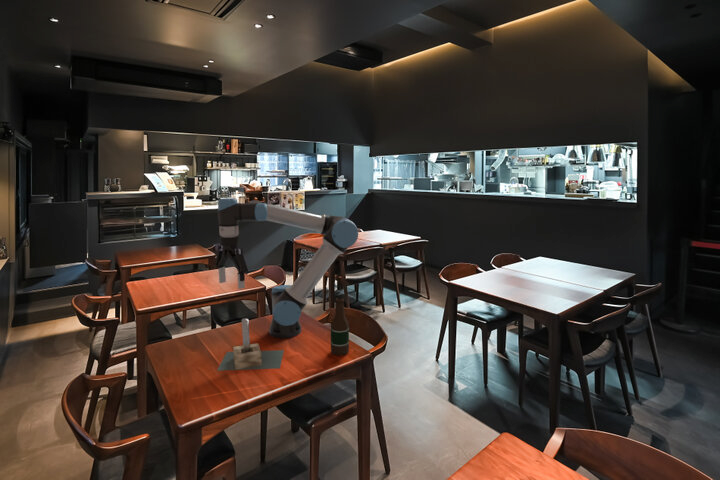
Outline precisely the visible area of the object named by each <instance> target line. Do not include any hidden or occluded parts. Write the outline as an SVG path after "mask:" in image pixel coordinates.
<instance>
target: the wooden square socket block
mask: <svg viewBox="0 0 720 480" xmlns="http://www.w3.org/2000/svg"><path fill="white" fill-rule="evenodd" d="M232 348H233V349H232V352H233V353H234V363H235V370H234V371H237V370H236V369H242V368H248V367H254V366H260V365H262V359H261V351H262V350H261V348H260V345H259V343H250V352H247V353H244V351H243V345H237V346H233V347H232Z"/></svg>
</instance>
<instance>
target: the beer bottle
mask: <svg viewBox="0 0 720 480" xmlns="http://www.w3.org/2000/svg"><path fill="white" fill-rule="evenodd" d="M344 302H345V300H344V298H343V297H337V298H335V312H334V313H335V314H334V317H333V318H332V320H331V322H330V352H331V353H332V355H333V356H337V355H338V357H341V356H340V355H342V356H347V354H348V353H349V352H350V351H349V350H350V326H349V325H350V323H349V322H348V319H347V318H346V315H345V303H344Z"/></svg>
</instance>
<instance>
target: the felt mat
mask: <svg viewBox="0 0 720 480" xmlns="http://www.w3.org/2000/svg"><path fill="white" fill-rule="evenodd" d="M260 351H261V359H262V365H260V366H254V367H248V368H242V369H236V370H235V363H234V353H233V351H226V353H225V355H224V357H223V358H222V360H221V362H220V364H219V366H218V368H217V370H216V371H217V372H219V371H223V372H224V371H242V370H243V371H247V370H249V371H250V370H269V369H270V370H272V369H273V370H274V369H275V370H277V369H281V367H282V366H281V364H282V360H283V357H284V352H285V350H284V349H281V350H278V349H277V350H275V349H274V350H260Z"/></svg>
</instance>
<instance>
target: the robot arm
mask: <svg viewBox="0 0 720 480" xmlns="http://www.w3.org/2000/svg"><path fill="white" fill-rule="evenodd" d="M217 215H218V217H217V218H218V227H219V230H218V232H219V236H220V237H219V244H220V245H218V246H217V253H216V257H215V262H214V266H215V267H217V268H218V269H217V270H218V283H219V284H223V283H226V282H227V280H226V279H227V278H226V276H227V275H226V267H225V266H226V265H225V264H226V263H227V261H228V259H230V261H232V262H233V264H234V266H235V268H236V270H237V289H238V290H241V289H245V288H246V285H245V279H246V278H245V276H246V275H245V274H246V273H247V272H249V268H248V266H247V262H246V260H245V257H244V253H243V248H237V247H238V246H239V244H240V236H239V233H240V231H239V222H265V221H266V222H267V221H268V222H271V223H272V222H273V223H277V224H282V225H286V226H290V227H296V228H298V229H299V228H300V229H305V230H307V231H308V230H309V231H314V232H317V233H318V235H322V236H323V237H322V239H321V240H322V244H321V245H320V247H319V248H318V249H317V251H316V252H315V253H314V255H313V256H312V257H311V259H310V260H309V262H307V264H306V265H305V266H304V268H303V270H302V271H301V272H300V273H299V275H298V277H296V279H295V281H294V282H293V283H292V285H291V284H282V285H276V286H273V287H272V288H271V304H272V305H271V307H272V309H271V310H272V311H271V314H272V320H271V322H270V325H269V330H268V332H269V336H271V337H272V338H276V339H291V338H294V337H297V336H299V335H300V334H301V333H302V325H301V322H300V317H301V314H302V311H303V309H304V308H305V307H306V305H307V304H308V300H307V299H308V298H309V295H310V294H311V293H312V292H313V290H314V289H315V288H316V286H317V285H318V283H319V282H320V281H321V279H322V278H323V277H324V275H325V274H326V272H327V271H328V270H329V268H330V267H331V266H332V264H333V263H334V262H335V260H336V259H337V257H338V256H339V255H343V254H345V252H346V251H348V248H351V247H352V246H353V245H355V244H356V242H357V241H358V239H359V231H358V230H359V229H358V227H357V225H356V224H355V223H354V222H353V221H352V220H350V219H349V218H347V217H344V216H338V215H329V214H322V215H320V214H319V215H318V214H314V213H311V212H307V211H301V210H298V209H294V208H293V209H292V208H289V207H284V206H279V205H275V204H271V203H267V202H266V203H265V202H261V201H259V200H255V199H252V200H250V201H248V202H246V203H245V202H244V203H243V202H238V199H237V198H231V197H230V198H229V197H225V198H220V199H218V200H217Z"/></svg>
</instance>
